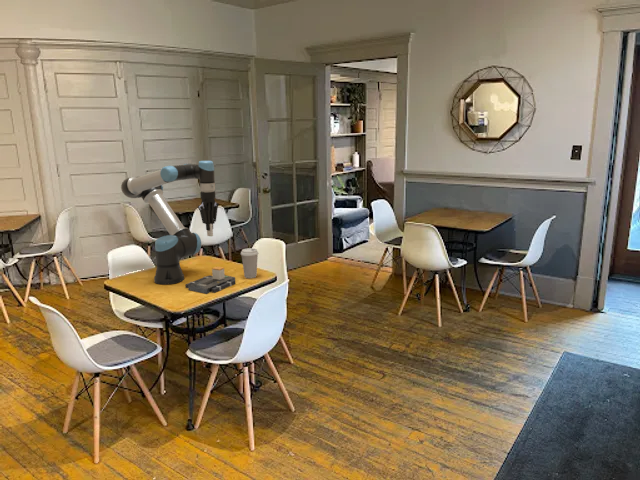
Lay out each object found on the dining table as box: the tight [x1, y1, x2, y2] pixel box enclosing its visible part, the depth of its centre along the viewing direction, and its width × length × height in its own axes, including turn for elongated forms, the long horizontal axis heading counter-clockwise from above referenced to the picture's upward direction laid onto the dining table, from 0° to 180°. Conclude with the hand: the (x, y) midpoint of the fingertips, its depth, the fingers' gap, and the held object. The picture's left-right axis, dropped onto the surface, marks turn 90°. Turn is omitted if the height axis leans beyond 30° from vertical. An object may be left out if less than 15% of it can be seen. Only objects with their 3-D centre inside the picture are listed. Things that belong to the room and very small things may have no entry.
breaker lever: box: [211, 266, 225, 280], centre depth 252 cm, size 5×4×6 cm
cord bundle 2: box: [211, 280, 236, 294], centre depth 246 cm, size 3×16×2 cm, turn 151°
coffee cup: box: [240, 247, 259, 279], centre depth 263 cm, size 10×10×15 cm
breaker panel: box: [187, 275, 236, 295], centre depth 249 cm, size 12×22×3 cm, turn 151°
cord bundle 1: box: [184, 274, 212, 289], centre depth 253 cm, size 5×18×2 cm, turn 151°
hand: (210, 235), depth 255 cm, fingers closed
